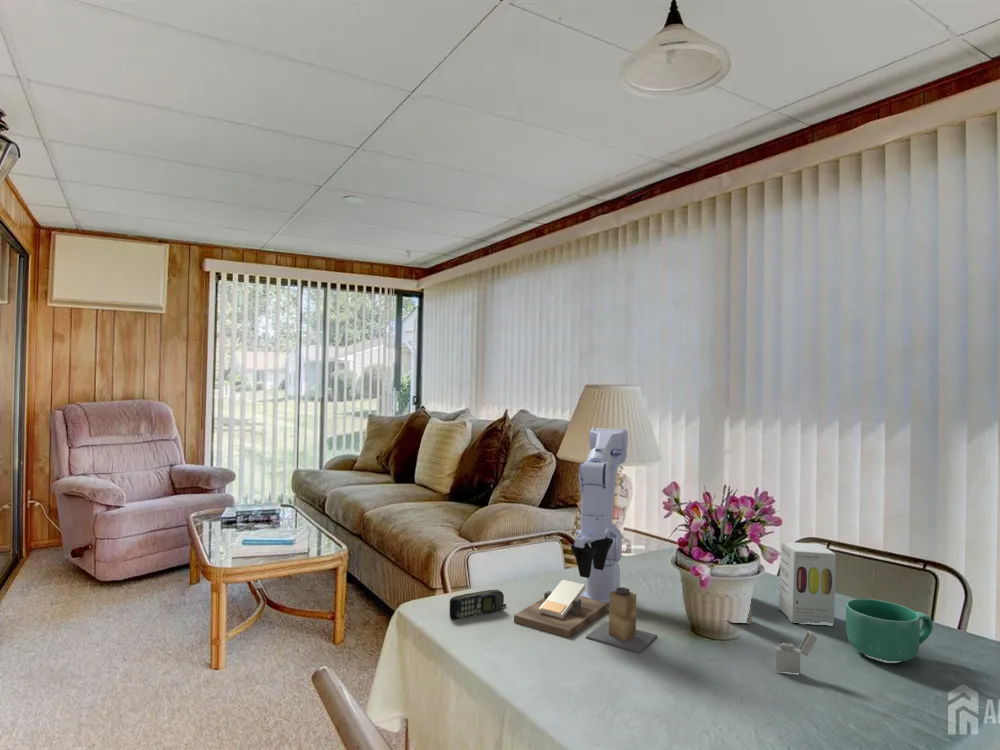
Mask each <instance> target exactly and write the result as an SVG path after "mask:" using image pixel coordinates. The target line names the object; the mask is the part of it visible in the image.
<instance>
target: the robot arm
mask: <svg viewBox="0 0 1000 750" xmlns="http://www.w3.org/2000/svg"><path fill="white" fill-rule="evenodd" d="M628 439H629V434H628V430H627V429H626V428H623V429H622V428H620V429H619V428H604V427H603V428H600V427H598V428H597V427H592V428H591V429H590V431H589V448H590V451H589V452H588V455H587V458H586V460H585V461H584V462H583V463H580V465H579V470H578V483H579V494H580V495H581V497H580V498H581V499H580V529H578V530H575V535H577V536H576V537H575V538H574V543H572V544H570V549H571V551H572V552H573V555H574V557H575V560H576V563H577V569H578V573H579V577H582V578H585V579H586V584H585V589H586V590H585V591H583V592H582V593H581V595H580V597H584V598H588V599H592V600H596V601H601V602H605V603H608V605H610V592H613V591H616V589H617V588H619V587H621V586H620V585H621V567H620V565H619V562H620V561H621V559H622V550H623V546H622V545H623V541H622V539H623V537H622V536H623V535H622V533H621V530H620V528H618V527H617V526H616V525H615V524H613V520H614V519H613V516H614V505H615V504H614V503H615V495H616V494H615V493H616V482H617V474H618V470H619V466H620V465H622V464H624V463H626V459H627V454H628V446H629V444H628V443H629V440H628Z"/></svg>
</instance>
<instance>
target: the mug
mask: <svg viewBox="0 0 1000 750" xmlns="http://www.w3.org/2000/svg"><path fill="white" fill-rule="evenodd" d="M920 620H922V623H921V624H920V622H921V621H920ZM920 626H921V627H920ZM845 629H846V630H845V631H846V636H847V640H848V641H849V644H850V645H851V646H852V647H853V648H854V649H855V650H856V651H858V652H859V653H861V654H862V653H863V654H866V655H868V656H871V657H874V658H878V659H882V660H887V661H904V662H907V660H908V661H910V660H912V659H913V658H915V657H916V655H917V654H918V652H919V648H920V645H921V644H922V643H924V642H925V641H927V639H928V638H929V637H930V635H931V634H932V632H933V629H934V623H933V621H932V619H931V617H930V616H929V615H927V614H926V613H924V612H921V611H914V610H913V609H911V608H909V607H906V606H904V605H900V604H897V603H894V602H890V601H885V600H879V599H872V598H871V599H869V598H854V599H850V600H848V601H847V602H846V603H845ZM863 654H862V655H863Z"/></svg>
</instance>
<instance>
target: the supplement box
mask: <svg viewBox="0 0 1000 750" xmlns="http://www.w3.org/2000/svg"><path fill="white" fill-rule="evenodd" d="M836 556H837V554H836V553H834V551H832V550H830V549H829V548H827V547H825V546H824V545H822V544H821V543H808V542H791V541H781V543H780V569H779V570H780V574H779V601H778V602H779V605H778V607H779V608H778V609H779V611H780V610H781V611H782V612H783V613H784V614H785V615H786V616H787V617H788V618H787V617H786V616H785V615H784V614H783V613H782V612H781V611H780V612H781V613H782V614H783V615H784V616H785V617H786V618H787V619H788V620H789V622H790V623H792V622H794V623H795V622H796V623H806V622H807V623H808V622H810V623H812V622H813V623H820V622H828V623H834V624H835V603H836V602H835V600H836V599H835V598H836V597H835V595H836V563H837V559H836V558H837V557H836Z"/></svg>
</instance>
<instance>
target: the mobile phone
mask: <svg viewBox="0 0 1000 750" xmlns="http://www.w3.org/2000/svg"><path fill="white" fill-rule="evenodd" d="M504 601H505V596H504V593H503V591H501V590H500V589H487V590H483V591H482V590H481V591H476V592H471V593H464V594H460V595H456V596H453V597H451V598H450V599H449V617H450V619H451V620H456V619H457V620H459V619H462V618H463V619H464V617H465V618H469V616H470V617H474V615H476V616H482V615H487V614H493V613H494V612H495V613H496V612H497V611H500V610H501V609H502V608H506V607H507V603H504ZM481 614H482V615H481ZM458 618H459V619H458Z"/></svg>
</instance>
